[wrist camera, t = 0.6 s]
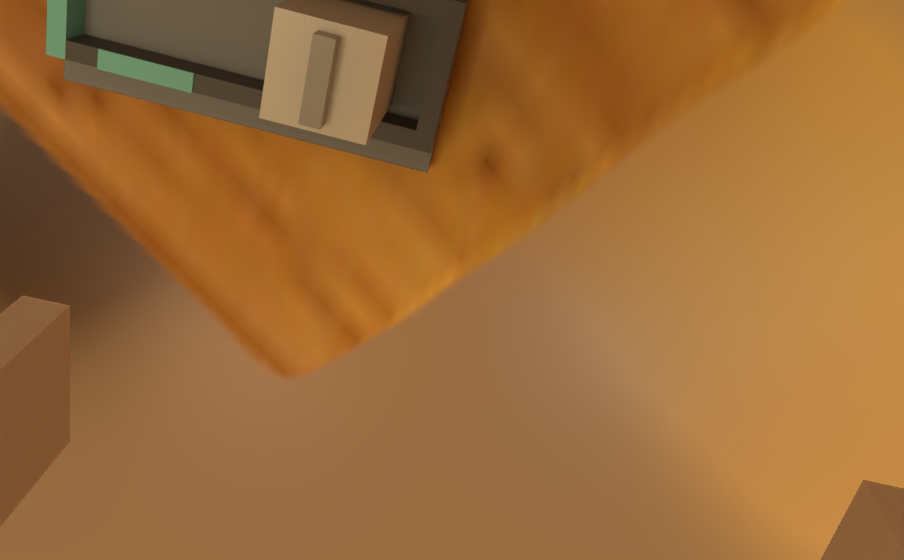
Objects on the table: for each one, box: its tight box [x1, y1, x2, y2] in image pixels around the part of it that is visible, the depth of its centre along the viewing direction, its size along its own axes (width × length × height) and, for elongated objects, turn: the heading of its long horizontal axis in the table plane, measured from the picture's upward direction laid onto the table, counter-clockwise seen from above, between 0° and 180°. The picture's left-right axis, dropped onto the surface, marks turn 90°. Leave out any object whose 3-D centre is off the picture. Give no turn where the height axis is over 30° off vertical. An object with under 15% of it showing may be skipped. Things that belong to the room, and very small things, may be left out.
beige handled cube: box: [259, 0, 410, 145], centre depth 32 cm, size 4×4×7 cm
